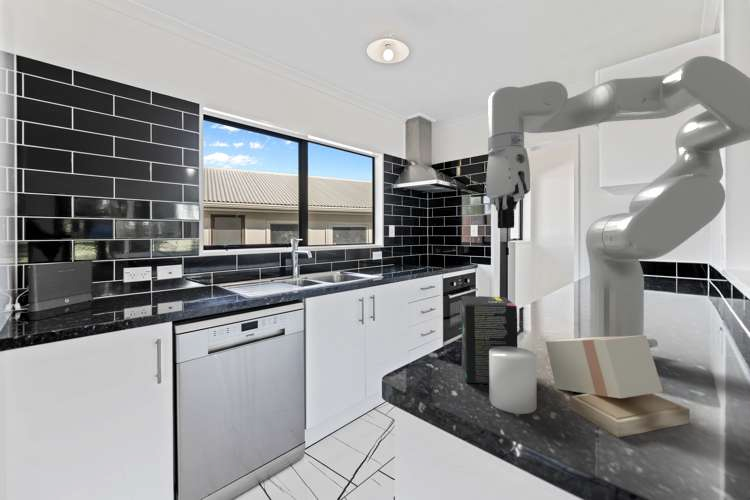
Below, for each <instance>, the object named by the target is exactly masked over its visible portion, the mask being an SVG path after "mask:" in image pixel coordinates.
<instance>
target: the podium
mask: <svg viewBox="0 0 750 500" xmlns="http://www.w3.org/2000/svg"><path fill="white" fill-rule="evenodd" d="M569 410H570V411H572V412H574V413H575V414H577V415H579V416H580V417H583V418H584V419H585V420H587V421H589V422H590V423H592V424H594V425H596V426H598V428H601V429H602V430H603V431H606V432H607V433H609V434H611V435H612V436H614V437H615V438H622V437H629V436H633V435H639V434H642V433H647V432H652V431H657V430H661V429H667V428H671V427H672V428H673V427H677V426H682V425H687V424H690V421H691V420H690V415H691V414H690V412H691V410H690V408H688V407H687V406H686V407H685V406H684V405H681V404H679V403H676V402H673V401H671V400H668V399H666V398H664V397H662V396H660V395H656V394H655V393H651V394H645V395H639V396H633V397H627V398H614V397H607V396H600V395H594V394H588V393H581V394H577V395H576V394H575V395H572V396H569Z"/></svg>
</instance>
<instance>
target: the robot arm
mask: <svg viewBox="0 0 750 500" xmlns="http://www.w3.org/2000/svg"><path fill="white" fill-rule="evenodd" d="M568 95H569V94H568V90H567V87H566V86H565V85H563V84H562V83H561V82H558V81H553V80H548V81H547V80H546V81H542V82H537V83H534V84H530V85H529V84H528V85H525V86H520V87H517V86H504V87H501V88H498V89H495V90H494V91H493V92H492V93H491V94H490V95H489V97H488V101H487V113H488V114H487V149H488V151H487V153H488V154H487V156H488V158H487V164H486V165H487V167H486V176H485V193H486V197H487V198H488V199H489V204H490V205H493V206H495V209H496V212H497V228H498V229H514V228H515V211H516V209H517V206H518V205H517V204H518V202H519V201H521V200H523V199H525V195H527V194H528V193H530V191H531V169H530V160H529V154H528V150H527V148H526V147H525V133H528V134H543V133H547V134H548V133H557V132H565V131H570V130H575V129H579V128H586V127H590V126H596V125H598V124H602V123H610V122H622V121H638V120H639V121H641V120H643V121H644V120H657V119H665V118H670V117H673V116H676V115H678V114H680V113H682V112H684V111H686V110H689V109H691V108H693V107H695V106H696V105H700V106H702V107H703V108H704V109H705V111H704V112H701V113H699V114H697V115H695V116H694V117H691V118H690V119H688V120H687V121H685V122H684V123H683V125H682V126H681V127H680V128H679V129H678V131H677V133H676V135H675V142H674V143H675V150H676V157H675V158H676V159H675V162H674V163H673V164H672V165H671V166H670V167H669V168H668V169H666V170H665V171H664V172H663V173H661V174H660V175H659V176H658V177H656V178H655V179H653V180H652V181H651V182H650V183H648V184H647V185H646V186H644V187H643V188H642V189H640V190H639V191H638V192H637V193H636V194H635V195H634V196H633V198H632V199H631V201H630V203H629V206H628V212H623V213H622V212H621V213H617V214H616V213H615V214H609V215H606V216H602V217H600V218H598V219H597V220H594V222H593V223H592V224H590V226H589V227H588V228H587V231H586V235H585V247H586V253H587V256H588V263H589V338H592V337H617V336H642V335H645V332H644V331H645V330H644V329H645V328H644V327H645V325H644V323H645V322H644V320H645V319H644V318H645V317H644V316H645V314H644V312H645V310H644V309H645V305H644V304H645V277H644V272H643V268H642V264H641V263H640V261H639V260H641V261H642V260H646V261H648V260H654V259H658V258H661V257H663V256H665V255H667V254H669V253H671V252H672V251H674V250H675V249H677V248H678V247H679V246H681V245H682V244H683V243H684V242H686V241H688V239H690V238H691V237H693V236H694V235H695V234H696V233H698V232H699V231H700V230H702V229H703V228H704V227H706V226H707V225H708V224H710V223H711V222H712V221H714V220H715V218H717V216H718V215H719V214H720V212H721V211H722V209H723V207H724V205H725V201H726V190H725V188H724V186H723V184H722V182H720V181H721V180H722V178H723V175H724V168H723V163H722V162H723V161H722V157H721V151H720V150H721V149H724V148H727V147H730V146H733V145H737V144H740V143H743V142H747V141H750V77H749V76H747V75H746V74H745V73H743V72H742V71H741V70H739V69H738V68H736V67H735V66H733V65H731V64H730V63H728V62H727V61H724V60H722V59H719V58H717V57H715V56H709V55H700V56H699V55H698V56H695V57H692V58H689V59H687V60H686V61H685V62H684V63H682V64H680V65H679V66H677V67H676V68H674V69H673V70H671V71H670V72H668V73H666V74H662V75H654V76H644V77H643V76H642V77H628V78H614V79H609V80H607V81H604V82H602V83H600V84H598V85H595V86H594V87H591V88H589V89H588V90H585V91H584V92H581V93H579V94H577V95H574V96H571V97H569V96H568ZM647 341H648V344H649V347H650V349H651V348H652V349H653V348H657V347H658V345H659V344H658V341H657V339H655V338H647Z"/></svg>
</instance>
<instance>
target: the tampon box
mask: <svg viewBox="0 0 750 500" xmlns="http://www.w3.org/2000/svg"><path fill="white" fill-rule="evenodd" d="M517 308H518V307H517V305H515V304H514V303H513V302H512V300H510V299H509V298H507V297H506V296H503V297H502V296H486V295H485V296H484V295H483V296H482V295H481V296H480V295H479V296H472V295H470V296H469V295H462V297H461V367H462V371H463V375H464V379H465V380H464V381H465V383H469V384H470V383H471V384H479V385H480V384H481V385H482V384H483V385H489V350H490V349H491V348H493V347H499V346H510V347H518V309H517Z"/></svg>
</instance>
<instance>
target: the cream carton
mask: <svg viewBox="0 0 750 500" xmlns="http://www.w3.org/2000/svg"><path fill="white" fill-rule="evenodd" d="M647 339H648V338H647V335H645V334H644V335H642V336H617V337H592V338H590V337H578V338H569V339H567V338H566V339H558V340H550V341H549V340H547V341H545V345H546V350H547V353H548V354H547V355H548V359H549V362H550V366H551V371H552V377H553V381H554V384H555V388H556V389H557V390H563V391H570V392H576V393H581V394H594V395H600V396H607V397H614V398H627V397H633V396H639V395H645V394H651V393H652V394H655V393H656V394H657V393H663V392H664V390H663V386H662V383H661V380H660V377H659V374H658V370H657V367H656V363H655V361H654V357H653V354H652V352H651V348H650V347H649V344H648V341H647Z"/></svg>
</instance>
